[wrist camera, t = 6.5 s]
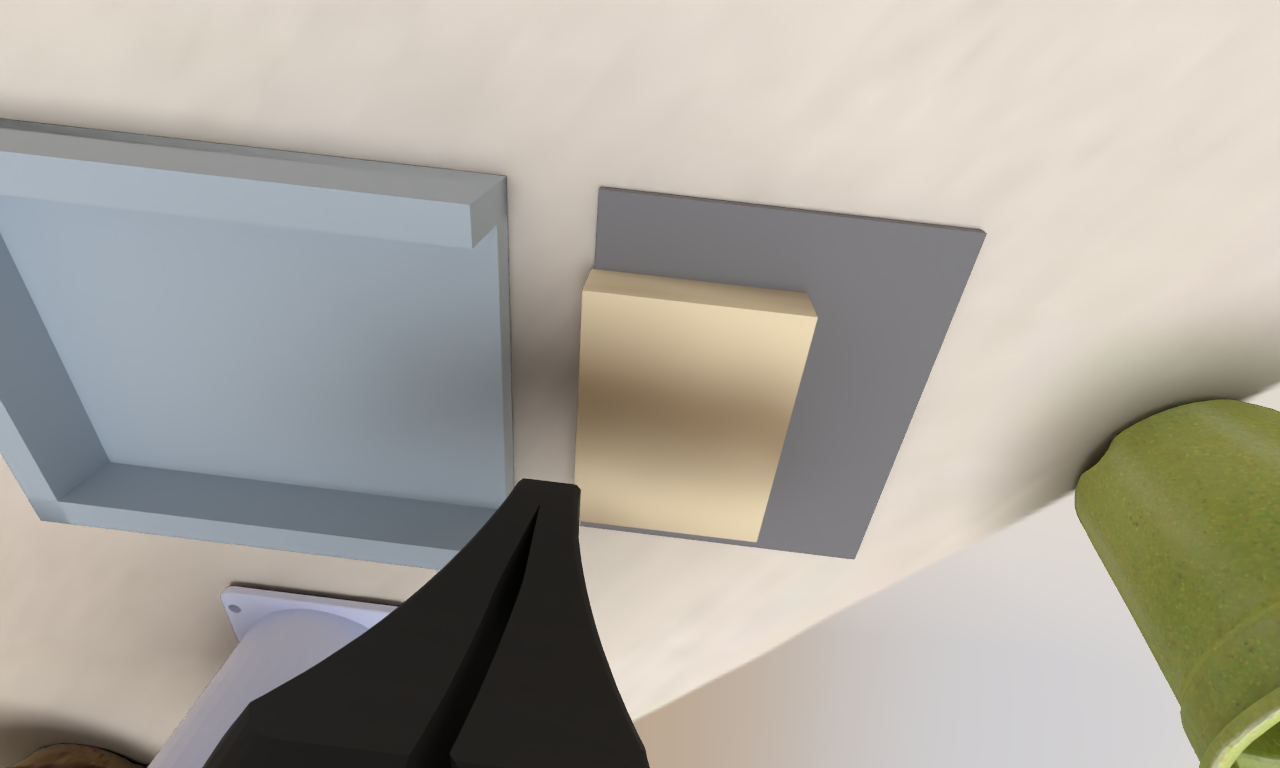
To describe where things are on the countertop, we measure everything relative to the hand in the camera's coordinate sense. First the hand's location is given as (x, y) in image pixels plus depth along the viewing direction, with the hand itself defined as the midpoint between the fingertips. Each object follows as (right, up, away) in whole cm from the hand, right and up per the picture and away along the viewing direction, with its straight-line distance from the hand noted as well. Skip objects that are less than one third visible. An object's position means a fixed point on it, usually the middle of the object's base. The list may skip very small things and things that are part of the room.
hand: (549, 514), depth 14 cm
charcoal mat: (+5, +2, +5) cm, 8 cm away
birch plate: (+3, +2, +5) cm, 6 cm away
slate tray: (-9, +4, +5) cm, 12 cm away
